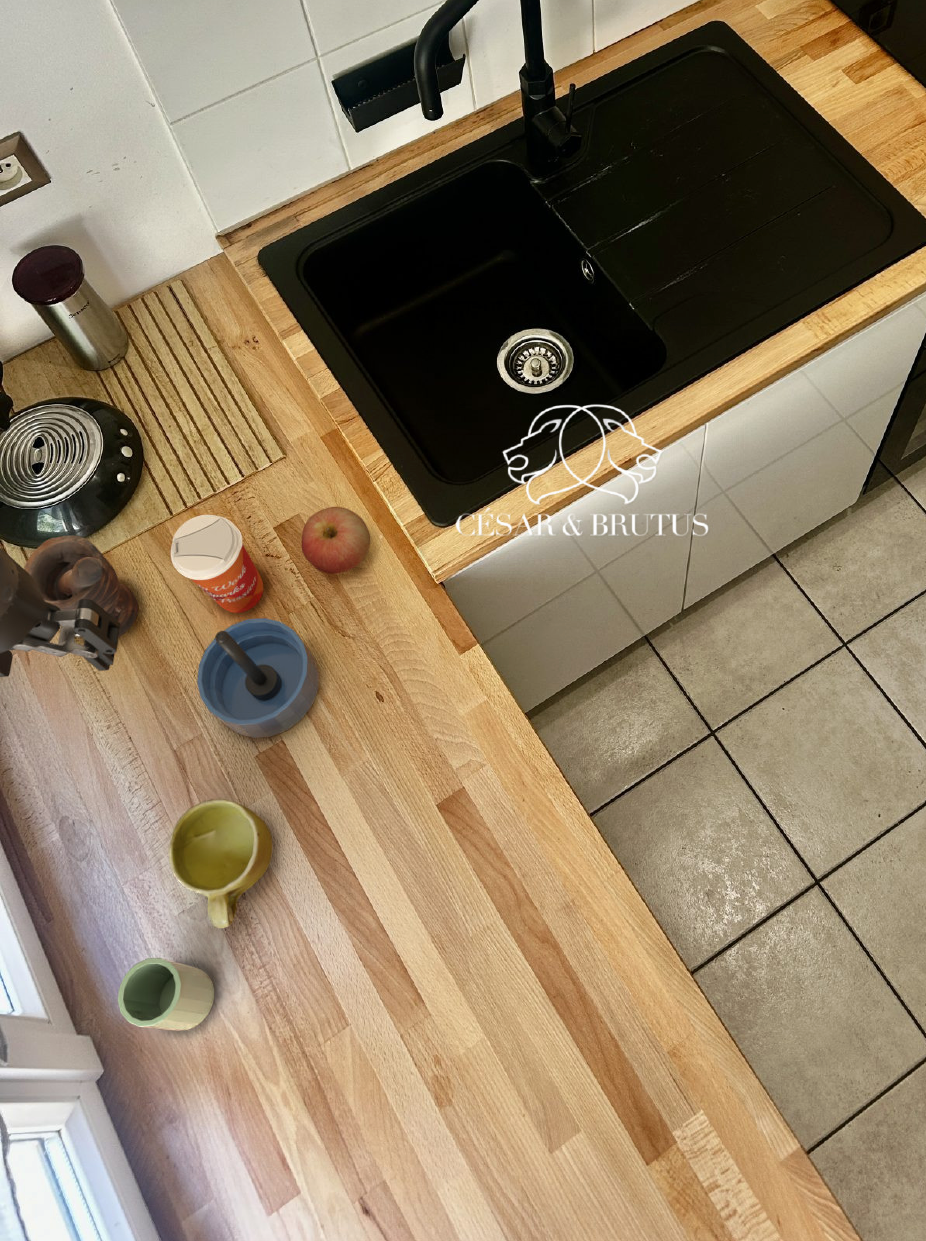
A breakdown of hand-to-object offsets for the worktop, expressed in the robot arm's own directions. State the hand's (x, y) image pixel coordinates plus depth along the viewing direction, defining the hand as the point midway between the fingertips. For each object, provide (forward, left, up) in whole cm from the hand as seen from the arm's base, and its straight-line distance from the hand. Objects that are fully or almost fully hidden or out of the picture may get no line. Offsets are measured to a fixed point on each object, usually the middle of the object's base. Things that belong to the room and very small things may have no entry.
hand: (56, 663), depth 98 cm
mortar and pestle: (-10, +18, -33) cm, 39 cm away
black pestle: (+8, +8, -32) cm, 34 cm away
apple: (+16, +24, -33) cm, 44 cm away
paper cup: (+4, +20, -33) cm, 39 cm away
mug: (+6, -12, -33) cm, 36 cm away
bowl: (+8, +8, -33) cm, 35 cm away
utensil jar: (+2, -24, -33) cm, 41 cm away
